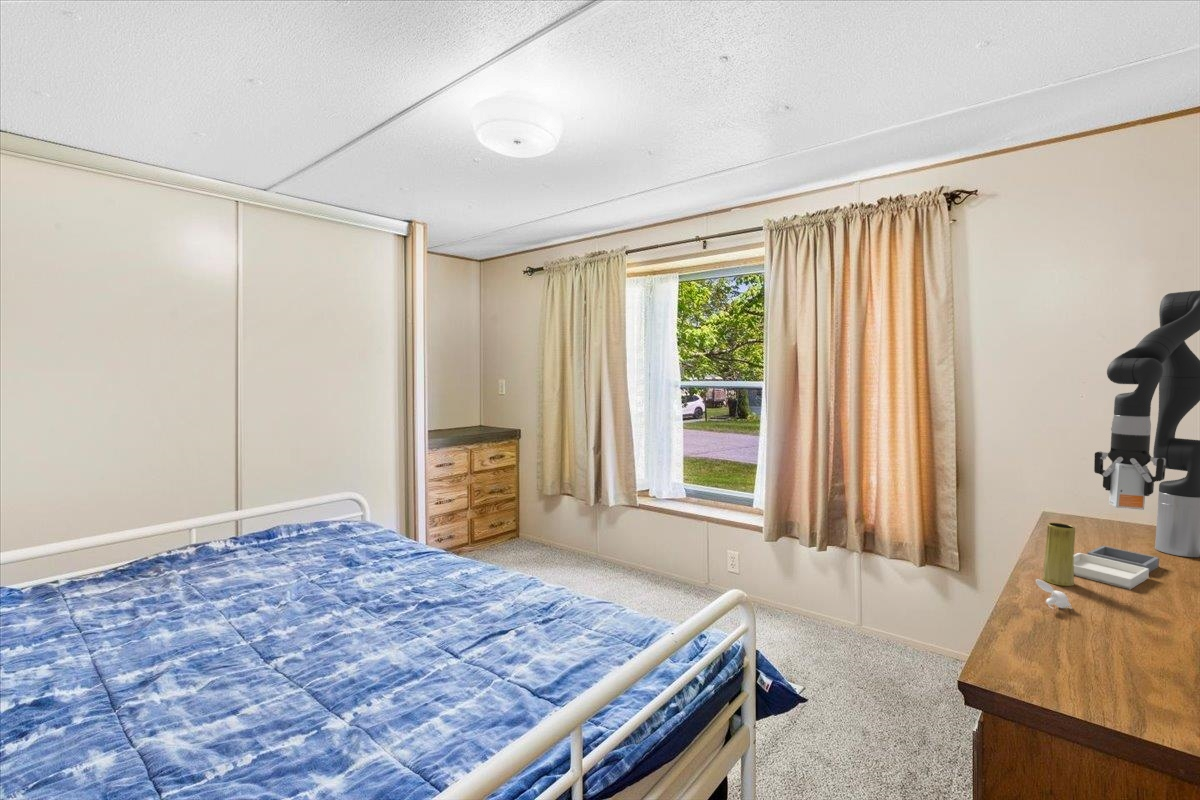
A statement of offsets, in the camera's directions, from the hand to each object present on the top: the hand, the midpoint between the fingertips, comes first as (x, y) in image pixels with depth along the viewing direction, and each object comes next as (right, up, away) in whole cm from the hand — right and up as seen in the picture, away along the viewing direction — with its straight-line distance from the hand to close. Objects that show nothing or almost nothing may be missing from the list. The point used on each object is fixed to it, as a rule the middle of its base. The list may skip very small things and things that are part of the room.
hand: (1127, 492), depth 147 cm
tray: (-13, -20, -7) cm, 25 cm away
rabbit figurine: (-43, -21, -27) cm, 54 cm away
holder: (0, -20, +1) cm, 20 cm away
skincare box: (0, -4, 0) cm, 4 cm away
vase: (-29, -20, -12) cm, 37 cm away
